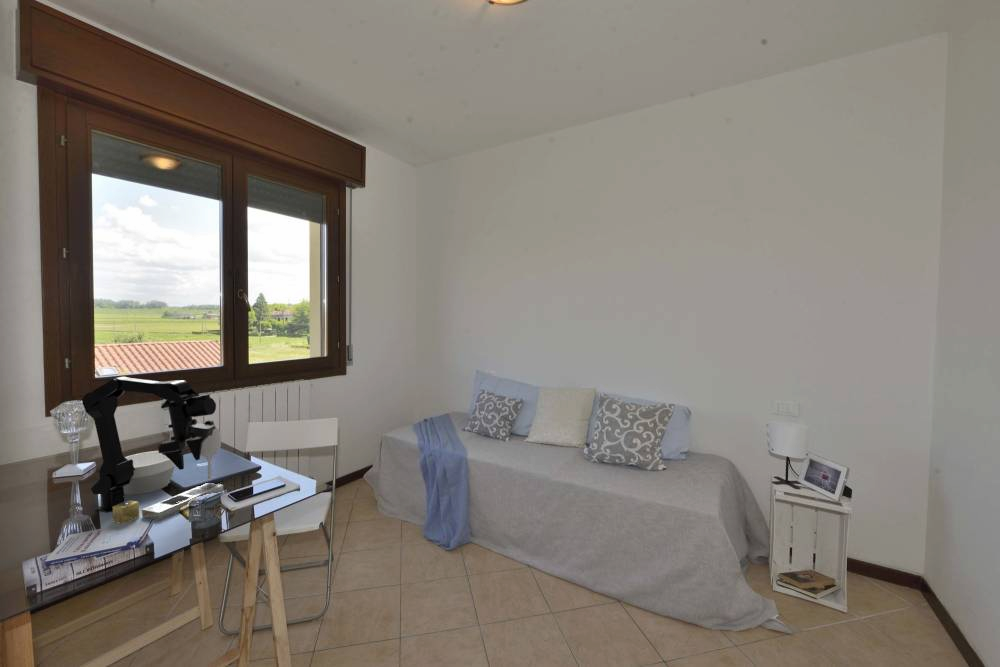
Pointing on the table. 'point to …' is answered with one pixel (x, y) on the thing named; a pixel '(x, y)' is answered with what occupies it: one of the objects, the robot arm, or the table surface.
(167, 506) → the rail
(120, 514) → the nut block
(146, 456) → the bowl
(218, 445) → the wineglass
